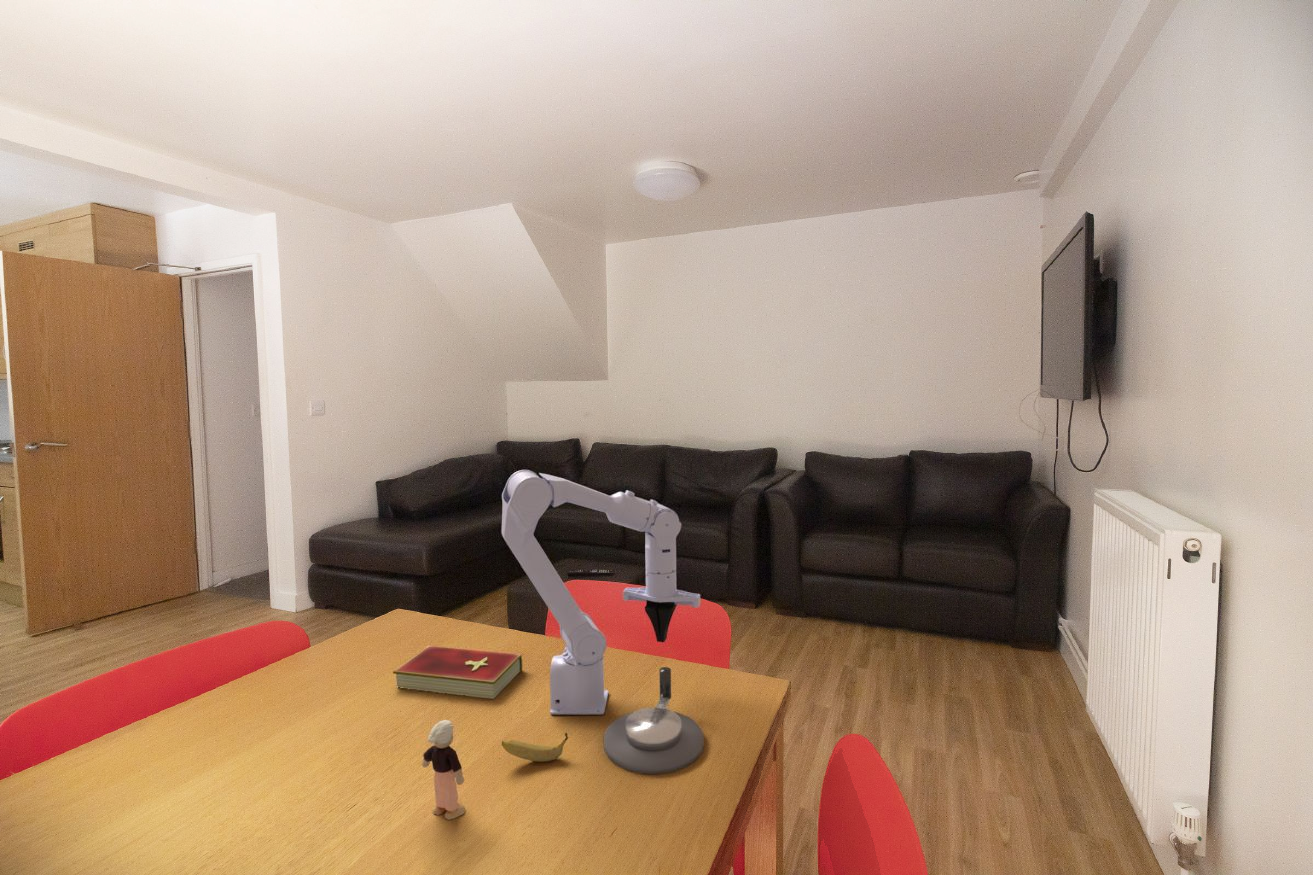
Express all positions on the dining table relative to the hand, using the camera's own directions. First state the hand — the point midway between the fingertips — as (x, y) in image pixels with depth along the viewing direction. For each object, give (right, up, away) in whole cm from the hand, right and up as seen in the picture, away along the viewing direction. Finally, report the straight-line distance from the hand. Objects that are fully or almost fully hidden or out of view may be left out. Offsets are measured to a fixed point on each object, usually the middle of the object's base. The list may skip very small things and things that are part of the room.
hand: (661, 639), depth 119 cm
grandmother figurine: (-30, -13, -32) cm, 46 cm away
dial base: (-1, -11, -17) cm, 20 cm away
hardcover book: (-40, -10, +5) cm, 41 cm away
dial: (-1, -9, -14) cm, 17 cm away
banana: (-20, -12, -21) cm, 31 cm away
